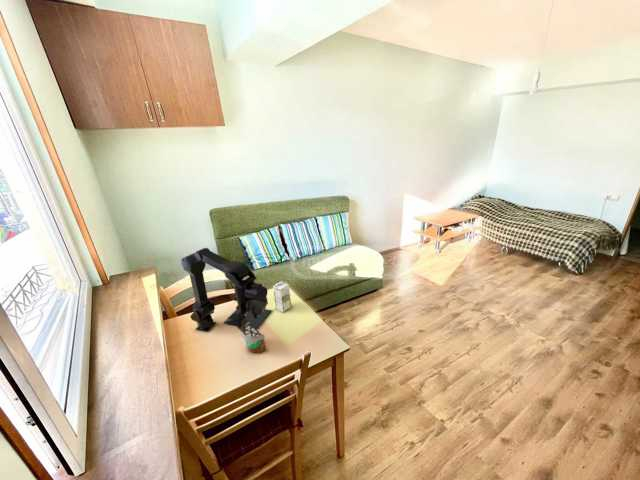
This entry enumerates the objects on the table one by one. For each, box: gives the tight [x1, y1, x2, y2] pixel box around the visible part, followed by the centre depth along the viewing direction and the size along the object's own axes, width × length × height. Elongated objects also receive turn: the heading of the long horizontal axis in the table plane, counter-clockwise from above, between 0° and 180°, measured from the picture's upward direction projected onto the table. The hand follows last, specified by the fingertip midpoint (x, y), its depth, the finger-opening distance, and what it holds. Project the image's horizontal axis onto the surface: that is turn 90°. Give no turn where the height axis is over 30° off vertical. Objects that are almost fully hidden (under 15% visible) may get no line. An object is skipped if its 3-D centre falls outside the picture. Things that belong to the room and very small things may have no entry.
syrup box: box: [272, 281, 292, 313], centre depth 143 cm, size 6×6×14 cm
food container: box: [241, 322, 267, 354], centre depth 118 cm, size 12×6×10 cm, turn 47°
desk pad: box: [223, 308, 272, 330], centre depth 139 cm, size 18×14×1 cm
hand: (250, 325), depth 116 cm, fingers open, 9 cm apart
